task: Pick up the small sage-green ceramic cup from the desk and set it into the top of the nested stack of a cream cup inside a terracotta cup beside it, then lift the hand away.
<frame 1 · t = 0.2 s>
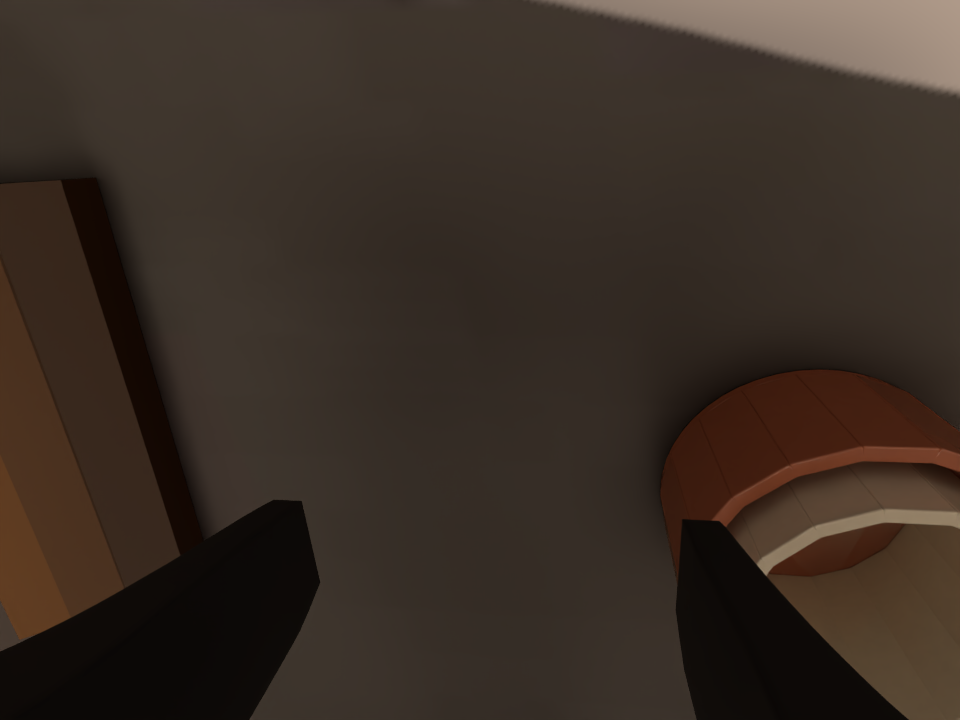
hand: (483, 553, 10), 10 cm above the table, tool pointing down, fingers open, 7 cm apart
stack top cup: (835, 551, 16), in the stack base cup
stack base cup: (798, 491, 19), on the table
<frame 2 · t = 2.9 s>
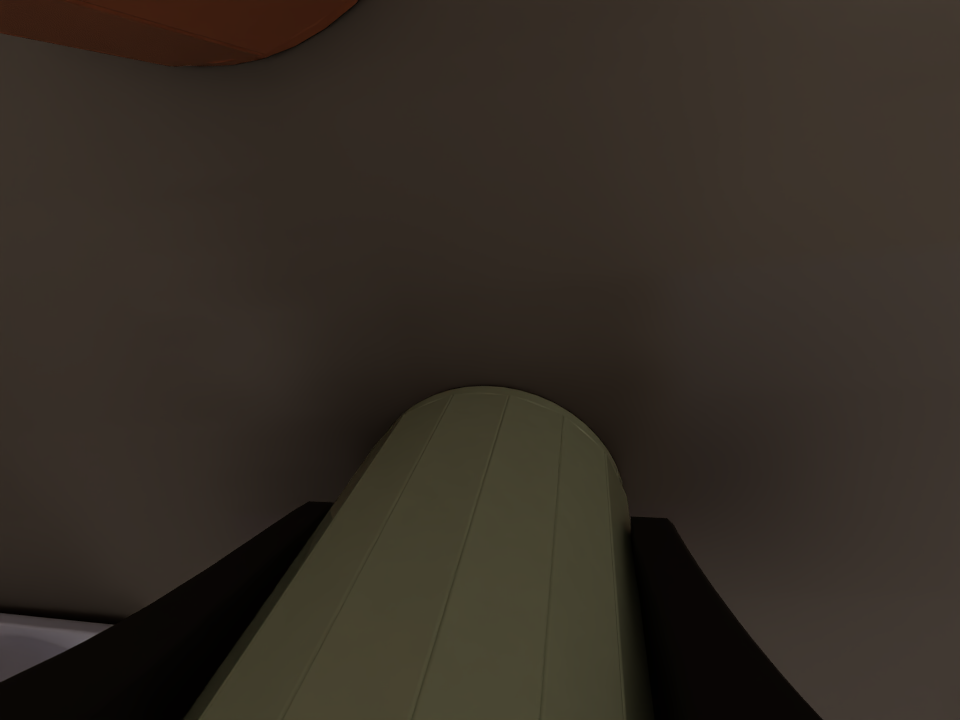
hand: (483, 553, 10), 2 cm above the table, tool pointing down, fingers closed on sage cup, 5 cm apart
sage cup: (493, 501, 12), on the table, touching gripper
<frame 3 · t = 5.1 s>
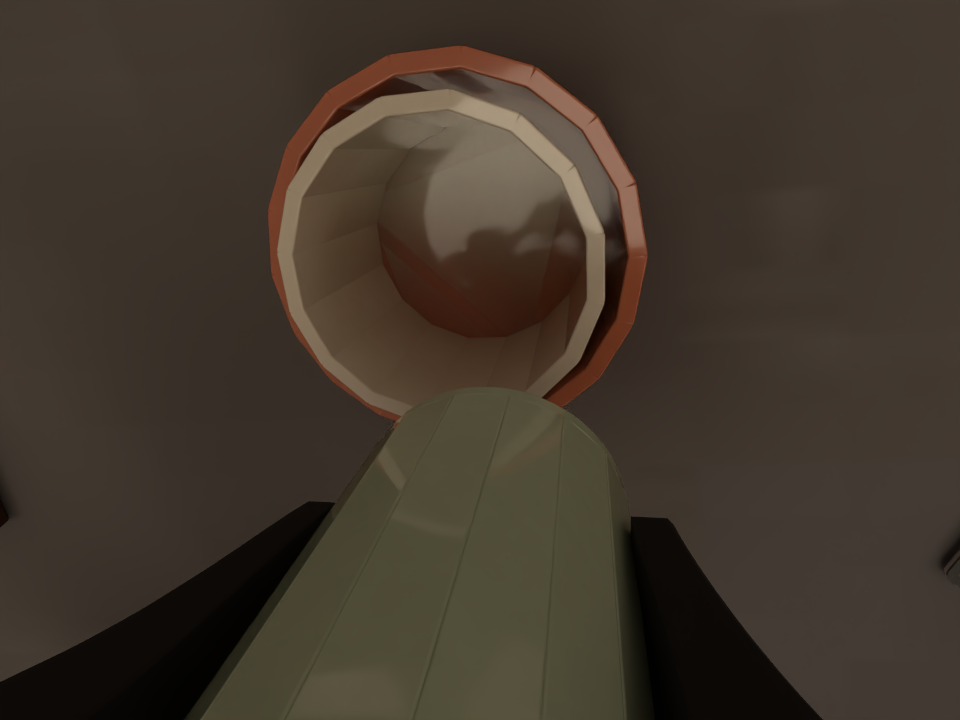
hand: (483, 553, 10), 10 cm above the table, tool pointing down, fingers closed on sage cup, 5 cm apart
stack top cup: (462, 252, 15), in the stack base cup
stack base cup: (481, 236, 18), on the table
sage cup: (494, 502, 12), point 8 cm above the table, touching gripper
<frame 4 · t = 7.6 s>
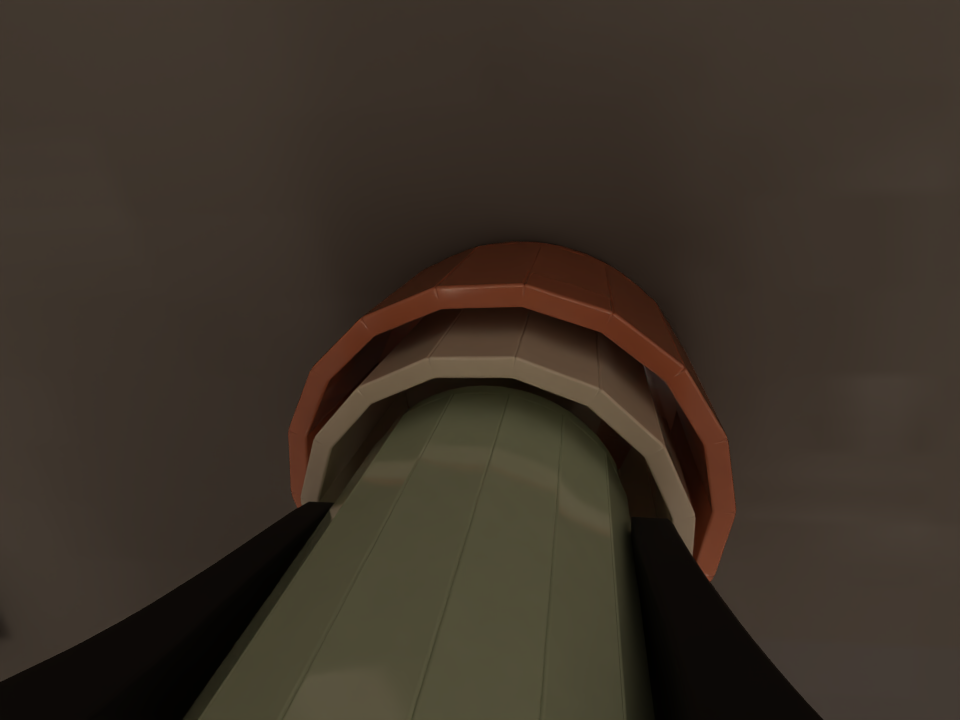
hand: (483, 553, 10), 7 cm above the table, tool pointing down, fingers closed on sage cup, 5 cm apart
stack top cup: (507, 456, 13), in the stack base cup
stack base cup: (520, 401, 16), on the table
sage cup: (493, 501, 12), point 5 cm above the table, touching gripper
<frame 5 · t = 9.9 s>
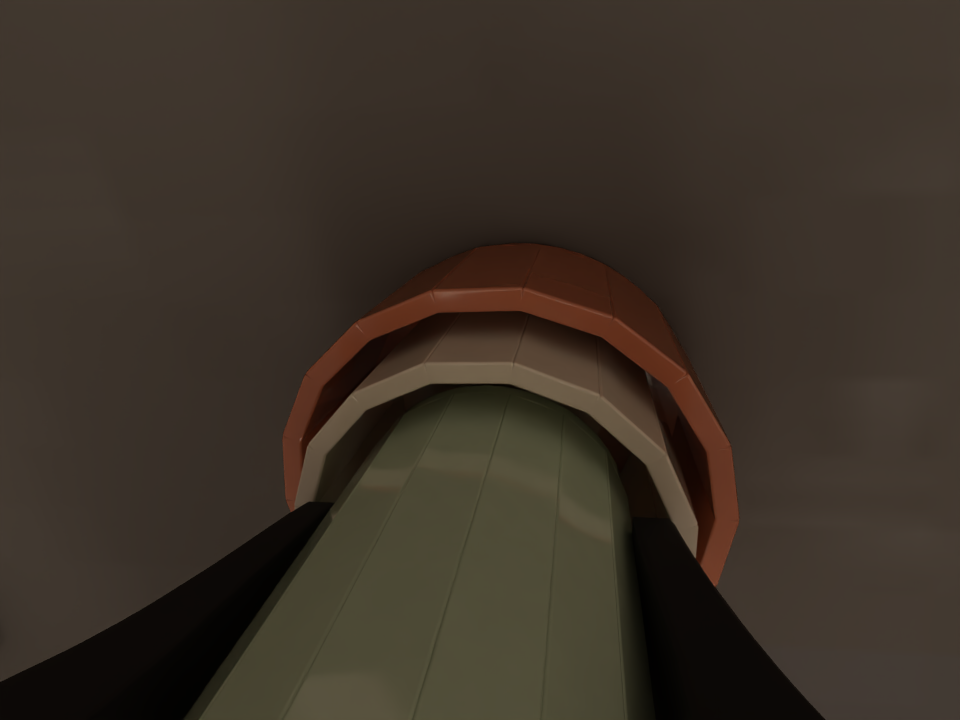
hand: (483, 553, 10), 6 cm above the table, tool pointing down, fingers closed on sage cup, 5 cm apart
stack top cup: (505, 461, 13), in the stack base cup
stack base cup: (519, 405, 16), on the table
sage cup: (494, 501, 12), point 5 cm above the table, touching gripper
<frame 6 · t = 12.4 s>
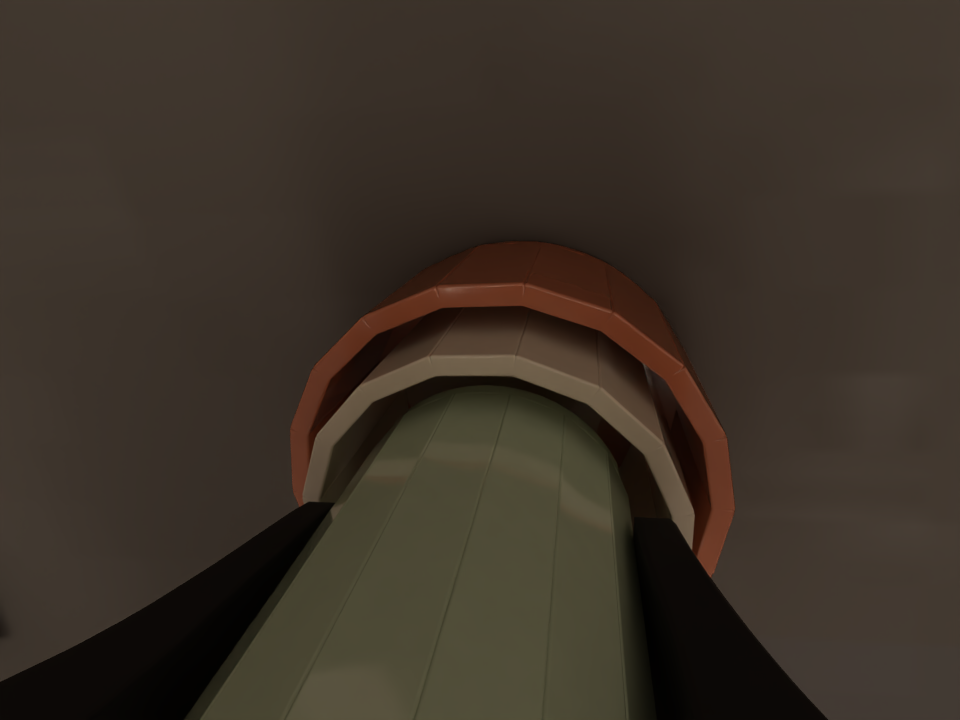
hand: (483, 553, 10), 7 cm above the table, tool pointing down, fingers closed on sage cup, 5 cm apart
stack top cup: (507, 454, 13), in the stack base cup
stack base cup: (521, 400, 16), on the table
sage cup: (494, 501, 12), point 5 cm above the table, touching gripper
when the fingers open (7 cm above the table, at t = 13.4 s): sage cup drops 5 cm, resting on stack base cup, stack top cup.
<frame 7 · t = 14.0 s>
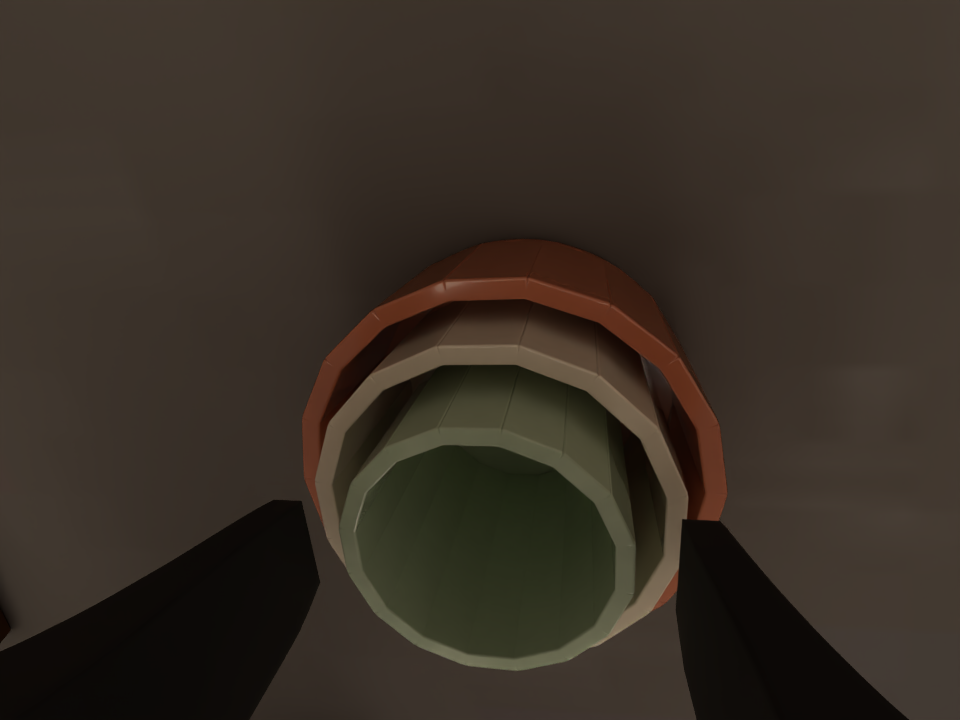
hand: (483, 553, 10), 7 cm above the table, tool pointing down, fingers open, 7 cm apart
stack top cup: (510, 443, 14), in the stack base cup
stack base cup: (522, 393, 17), on the table
sage cup: (521, 398, 16), resting on stack base cup, stack top cup
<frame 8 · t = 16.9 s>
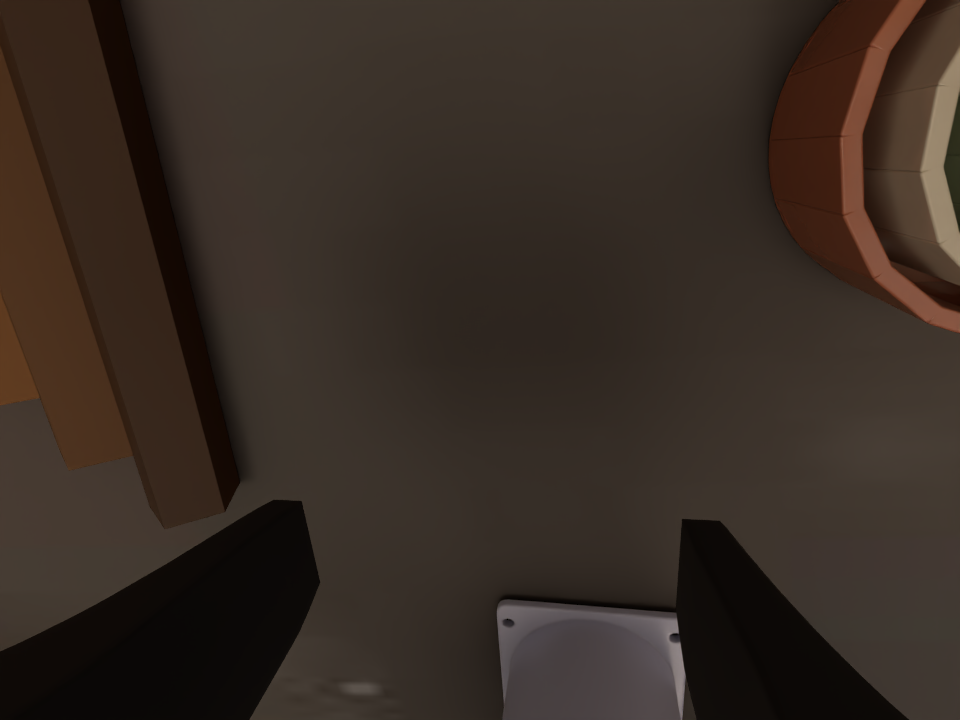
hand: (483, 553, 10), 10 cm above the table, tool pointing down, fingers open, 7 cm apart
stack base cup: (953, 125, 15), on the table
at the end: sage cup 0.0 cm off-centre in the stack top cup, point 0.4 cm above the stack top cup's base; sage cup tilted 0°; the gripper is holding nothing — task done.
